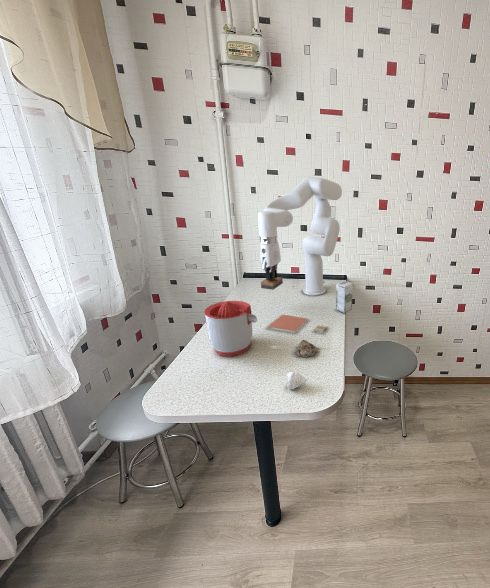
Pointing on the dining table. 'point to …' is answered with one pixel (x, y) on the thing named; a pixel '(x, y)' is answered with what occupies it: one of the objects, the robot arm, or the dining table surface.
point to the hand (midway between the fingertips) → (271, 278)
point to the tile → (288, 322)
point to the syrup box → (344, 296)
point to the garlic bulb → (295, 380)
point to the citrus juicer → (230, 327)
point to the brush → (272, 282)
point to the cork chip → (320, 328)
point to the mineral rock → (306, 349)
